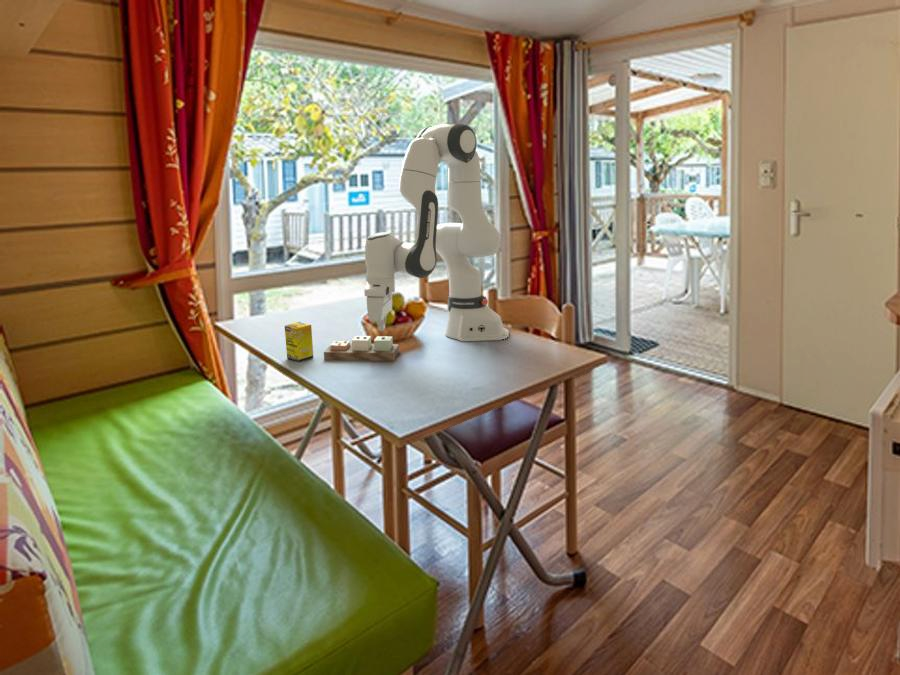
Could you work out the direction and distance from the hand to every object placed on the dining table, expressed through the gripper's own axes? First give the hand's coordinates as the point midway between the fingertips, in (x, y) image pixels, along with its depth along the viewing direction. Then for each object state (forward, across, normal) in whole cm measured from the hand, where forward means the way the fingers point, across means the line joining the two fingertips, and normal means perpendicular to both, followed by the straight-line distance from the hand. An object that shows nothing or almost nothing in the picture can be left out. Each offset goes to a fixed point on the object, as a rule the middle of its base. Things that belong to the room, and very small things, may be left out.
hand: (381, 329), depth 196 cm
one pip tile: (+7, -1, 0) cm, 7 cm away
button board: (+9, -1, -7) cm, 11 cm away
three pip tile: (+9, -1, -14) cm, 16 cm away
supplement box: (+9, +3, -26) cm, 27 cm away
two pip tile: (+7, -1, -7) cm, 10 cm away
